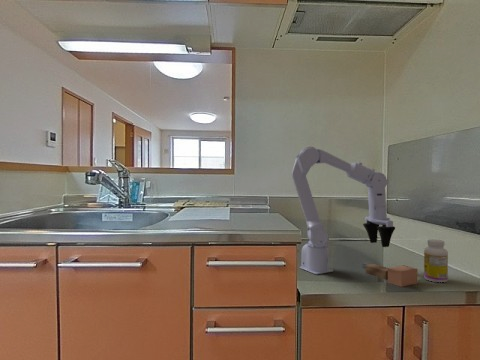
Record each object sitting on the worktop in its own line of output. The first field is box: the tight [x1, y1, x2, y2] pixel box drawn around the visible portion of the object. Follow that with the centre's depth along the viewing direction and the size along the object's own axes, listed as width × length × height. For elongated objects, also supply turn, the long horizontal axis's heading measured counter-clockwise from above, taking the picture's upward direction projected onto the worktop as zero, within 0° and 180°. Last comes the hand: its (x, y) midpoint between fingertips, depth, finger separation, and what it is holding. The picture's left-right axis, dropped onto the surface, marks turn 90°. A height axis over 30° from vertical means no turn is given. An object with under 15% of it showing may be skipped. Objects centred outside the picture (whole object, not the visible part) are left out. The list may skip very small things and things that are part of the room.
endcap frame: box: [361, 262, 418, 288], centre depth 112 cm, size 21×8×4 cm, turn 27°
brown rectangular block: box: [365, 263, 389, 280], centre depth 113 cm, size 8×4×3 cm, turn 29°
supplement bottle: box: [423, 238, 449, 284], centre depth 107 cm, size 7×7×13 cm
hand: (379, 244), depth 117 cm, fingers open, 7 cm apart
